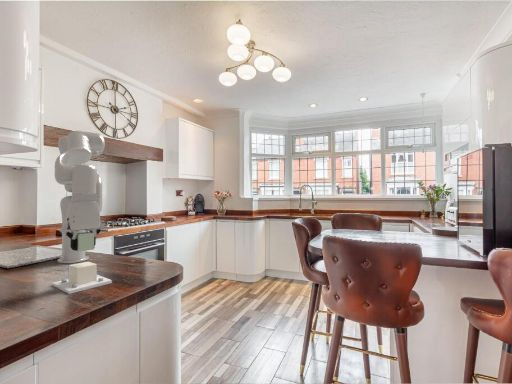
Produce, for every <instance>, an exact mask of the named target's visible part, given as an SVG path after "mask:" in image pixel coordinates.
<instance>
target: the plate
mask: <svg viewBox="0 0 512 384" xmlns="http://www.w3.org/2000/svg"><path fill="white" fill-rule="evenodd" d="M110 284H113V279H110V278H107V277H104V276H102V275H99V274H97V281H93V282H89V283H85V284H81V285H78V284H73V283H70V282H69V278H65V279H61V280H58V281H53V282H52V283H51V286H53V287H55V288H56V289H58V290H61V291H62V292H64V293H66V294H68V295H70V294H74V293H78V292H81V291H82V292H83V291H86V290H90V289H93V288H97V287H98V288H99V287H101V286H105V285H110Z"/></svg>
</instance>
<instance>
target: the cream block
mask: <svg viewBox="0 0 512 384" xmlns="http://www.w3.org/2000/svg"><path fill="white" fill-rule="evenodd" d="M97 275H98V264H97V263H93V262H91V261H83V262H77V263H74V264H73V263H72V264H69V265H68V279H69V282H70V283H73V284H78V285H81V284H85V283H89V282H93V281H97Z"/></svg>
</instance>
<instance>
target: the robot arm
mask: <svg viewBox="0 0 512 384" xmlns="http://www.w3.org/2000/svg"><path fill="white" fill-rule="evenodd" d="M57 143H58V144H57V145H58V151H59V153H60V154H59V155H58V156H57V157H56V159H55V161H54V178H55V182H57V183H58V184H59V185H63V186H64V190H65V191H66V192H68V193H71V195H67V196H63V197H62V198H61V199H60V204H59V206H60V207H59V208H60V213H61V220H62V221H61V227H60V228H59V232H60V233H61V257H59V258H58V259H57V263H59V264H73V263H74V264H78V263H83V262H87V261H88V260H89V259H90V258H89V257H90V256H89V255H86V251H80V252H78V251H77V249H78V240H77V239H76V237H77V234H78V233H81V232H86V231H87V230H88V232H91V233H94V249H95V246H96V244H97V243H96V240H97V239H96V238H97V237H98V235H99V234H100V233H101V231H103V230H104V229H105V228H106V225H105V224H104V223H103V222H102V221H101V212H102V211H103V180H102V178H101V176H100V172H99V170H98V169H97V167H96V166H95V165H93V164H86V163H89V161H90V160H91V159H92V157H98V156H100V155H102V153H103V152H104V151H105V147H106V142H105V138H104V136H103V135H102V134H101V133H96V132H90V131H84V130H83V131H82V130H74V131H70V132H69V133H68V134H67V135H64V136H61V137H59V138H58V142H57Z"/></svg>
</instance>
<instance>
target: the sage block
mask: <svg viewBox="0 0 512 384" xmlns="http://www.w3.org/2000/svg"><path fill="white" fill-rule="evenodd" d="M76 239H77V240H78V249H77V251H78V252H80V251H85V252H86V251H93V250H95V248H94V233H91V232H89V231H85V232H81V233H78V234H77V237H76Z"/></svg>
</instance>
